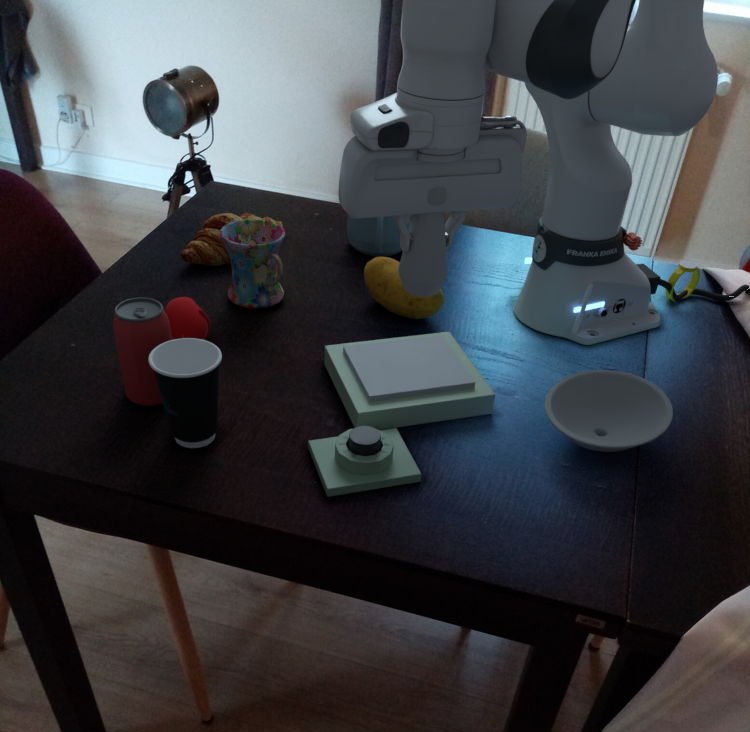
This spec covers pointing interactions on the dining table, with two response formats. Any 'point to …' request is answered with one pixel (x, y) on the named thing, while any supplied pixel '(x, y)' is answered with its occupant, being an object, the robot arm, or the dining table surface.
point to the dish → (608, 410)
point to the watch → (682, 267)
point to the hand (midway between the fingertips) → (425, 248)
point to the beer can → (140, 346)
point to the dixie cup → (189, 388)
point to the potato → (397, 290)
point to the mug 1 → (254, 262)
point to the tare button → (364, 441)
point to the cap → (187, 319)
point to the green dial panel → (363, 464)
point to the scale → (407, 381)
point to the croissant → (214, 240)
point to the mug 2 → (374, 235)
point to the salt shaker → (426, 251)
